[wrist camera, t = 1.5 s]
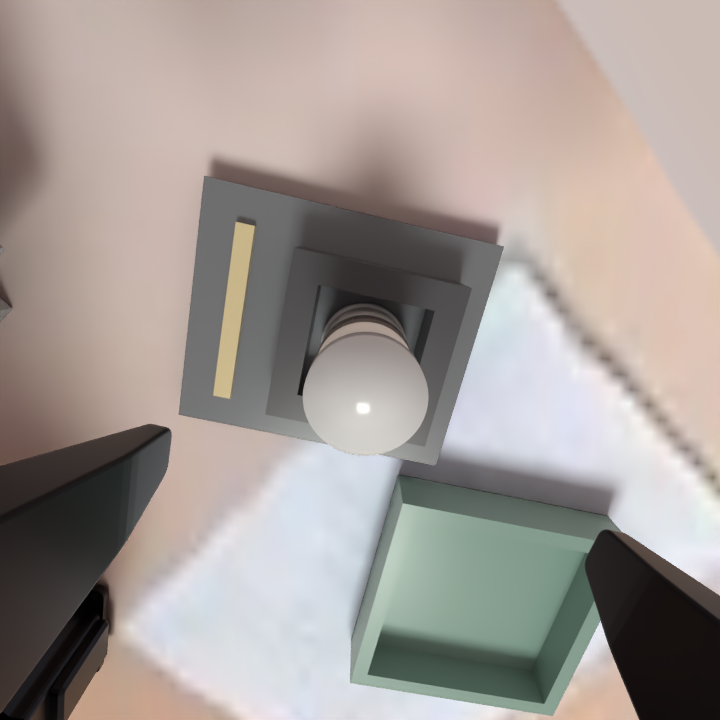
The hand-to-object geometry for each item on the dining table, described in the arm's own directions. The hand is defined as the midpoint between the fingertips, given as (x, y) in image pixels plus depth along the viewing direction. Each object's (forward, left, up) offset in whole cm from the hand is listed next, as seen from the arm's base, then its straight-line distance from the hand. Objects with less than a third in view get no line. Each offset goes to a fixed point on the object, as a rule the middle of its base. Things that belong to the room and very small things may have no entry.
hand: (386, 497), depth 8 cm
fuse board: (-2, 0, -12) cm, 13 cm away
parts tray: (+9, -13, -12) cm, 20 cm away
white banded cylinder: (0, 0, -11) cm, 11 cm away
